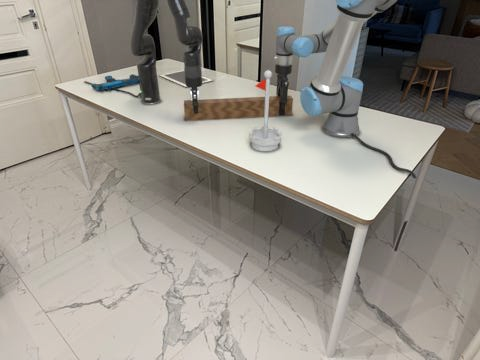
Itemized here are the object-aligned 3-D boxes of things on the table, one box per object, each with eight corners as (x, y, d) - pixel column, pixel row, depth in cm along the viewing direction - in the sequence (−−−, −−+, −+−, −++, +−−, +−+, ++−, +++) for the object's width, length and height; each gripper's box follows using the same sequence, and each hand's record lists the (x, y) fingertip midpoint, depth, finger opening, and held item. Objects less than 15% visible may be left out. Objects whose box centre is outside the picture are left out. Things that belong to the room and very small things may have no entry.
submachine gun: (136, 68, 224) (154, 75, 207) (137, 74, 226) (155, 81, 209) (84, 79, 205) (99, 86, 189) (85, 85, 207) (100, 93, 190)
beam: (289, 111, 169) (290, 95, 164) (291, 115, 165) (293, 98, 160) (185, 117, 163) (183, 100, 159) (185, 120, 159) (183, 103, 155)
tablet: (159, 75, 221) (159, 75, 220) (185, 70, 232) (185, 69, 231) (186, 87, 200) (186, 86, 200) (213, 80, 211) (213, 80, 211)
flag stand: (272, 135, 145) (276, 64, 129) (286, 149, 135) (292, 73, 119) (244, 140, 141) (244, 67, 125) (256, 154, 131) (258, 77, 115)
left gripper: (184, 70, 156) (188, 106, 166) (184, 80, 144) (188, 117, 154) (201, 70, 157) (203, 105, 166) (202, 79, 145) (204, 116, 154)
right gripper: (271, 59, 160) (269, 106, 173) (279, 69, 145) (276, 120, 158) (287, 59, 161) (283, 106, 174) (296, 69, 146) (292, 119, 159)
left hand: (196, 111), depth 160 cm, fingers closed on beam, 4 cm apart
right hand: (280, 112), depth 166 cm, fingers closed on beam, 5 cm apart
